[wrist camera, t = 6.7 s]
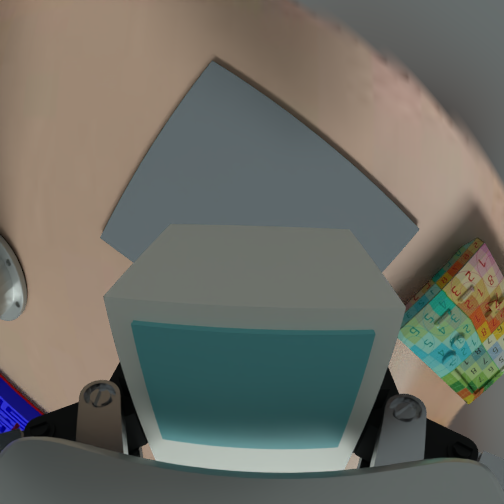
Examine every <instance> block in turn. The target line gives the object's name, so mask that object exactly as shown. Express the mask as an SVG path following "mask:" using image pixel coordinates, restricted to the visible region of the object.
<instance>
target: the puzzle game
mask: <svg viewBox="0 0 504 504" xmlns="http://www.w3.org/2000/svg"><path fill="white" fill-rule="evenodd" d="M405 307H406V309H405V313H404V317H403V320H402V324H401V327H400V330H399V334H398V337H397V338H398V339H400V340H401V341H402V342H403V343H404V344H405V345H406V346H407V347H408V348H409V349H410V350H411V351H413V352H414V353H415V354H416V355H417V356H418V357H419V358H420V359H421V360H422V361H423V362H424V363H425V364H427V365H428V366H429V367H430V368H431V369H432V370H433V371H434V372H435V373H436V374H437V375H438V376H439V377H440V378H441V379H442V380H443V381H445V382H446V383H447V384H448V385H449V386H450V387H451V388H452V389H453V390H454V391H455V392H456V393H457V394H458V395H459V396H460V397H461V398H462V399H463V400H464V401H465V402H466V403H467V404H470V403H471V402H472V401H474V400H475V399H476V398H477V397H478V396H479V395H481V394H482V393H483V392H484V391H485V390H486V389H487V388H489V387H490V386H491V385H492V384H493V383H494V382H495V381H496V380H497V379H498V378H499V377H500V376H501V375H503V373H504V277H503V275H502V273H501V271H500V269H499V267H498V265H497V264H496V262H495V260H494V258H493V256H492V254H491V253H490V251H489V249H488V247H487V246H486V244H485V243H484V242H483V241H482V240H480V239H479V238H476V239H474V240H473V241H472V242H470V243H468V244H466V245H464V246H462V247H461V248H460V249H459V250H458V251H457V253H456V254H455V255H454V256H453V257H452V258H451V259H450V260H449V261H448V262H447V263H446V265H445V266H444V267H443V268H442V269H441V270H440V271H439V272H438V273H437V274H436V275H435V276H434V277H433V278H432V279H431V280H430V281H429V282H428V283H427V284H426V285H425V286H424V287H423V288H422V289H421V290H420V291H419V292H418V293H417V294H416V295H415V296H414V297H413V298H412V299H411V300H410V301H409V302H408V303H407V304H406V305H405Z"/></svg>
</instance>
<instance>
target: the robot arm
mask: <svg viewBox="0 0 504 504" xmlns="http://www.w3.org/2000/svg"><path fill="white" fill-rule="evenodd" d="M26 302H27V289H26V283H25V278H24V275H23V272H22V269H21V267H20V264H19V262H18V260H17V258H16V256H15V254H14V252H13V250H12V249H11V248H10V246H9V245H8V243H7V242H6V241H5V240H4V239H3V237H2V236H1V235H0V319H2V320H6V321H12V320H14V319H17V318H18V317H19V316H20V315H21V314H22V313H23V311H24V309H25V306H26ZM147 443H148V441H147V438H146V436H145V433H144V430H143V428H142V425H141V423H140V420H139V417H138V415H137V412H136V409H135V406H134V403H133V401H132V398H131V395H130V392H129V389H128V386H127V383H126V380H125V376H124V373H123V370H122V367H121V363H119V364H118V366H117V368H116V370H115V372H114V373H113V375H112V377H111V379H110V381H107V380H98V381H93V382H91V383H89V384H87V385H86V386H85V387H84V388H83V389H82V390H81V392H80V396H79V402H78V403H75V404H72V405H69V406H67V407H64V408H61V409H58V410H56V411H53V412H50V413H47V414H44V415H41V416H38V417H36V418H34V419H32V420H31V421H29V422H28V423H27V425H26V426H25V429H24V430H23V431H21V429H20V428H18V429H14V430H11V431H8V432H4V433H1V434H0V504H504V459H502V458H500V457H497V456H495V455H493V454H490V453H488V452H486V451H483V452H482V453H479V452H478V449H477V446H476V445H475V443H474V442H473V441H472V440H470V439H469V438H467V437H465V436H463V435H461V434H458V433H456V432H454V431H452V430H450V429H448V428H446V427H444V426H442V425H440V424H438V423H435V422H433V421H431V420H429V419H427V418H426V407H425V405H424V403H423V402H422V401H421V400H420V399H419V398H417V397H415V396H413V395H409V394H399V393H398V390H397V388H396V385H395V383H394V380H393V378H392V375H391V373H390V371H389V368H387V370H386V373H385V376H384V379H383V382H382V384H381V387H380V390H379V392H378V395H377V397H376V400H375V402H374V405H373V407H372V410H371V412H370V415H369V417H368V419H367V422H366V424H365V426H364V429H363V431H362V433H361V435H360V438H359V440H358V442H357V444H356V446H355V448H354V450H353V452H352V453H355V455H357V456H359V457H360V459H359V463H358V467H357V469H349V470H338V471H323V472H296V473H272V472H245V471H230V470H219V469H209V468H200V467H192V466H185V465H178V464H172V463H166V462H161V461H155V460H150V459H145V458H143V454H142V447H141V446H143V445H146V444H147Z"/></svg>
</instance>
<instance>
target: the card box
mask: <svg viewBox="0 0 504 504" xmlns="http://www.w3.org/2000/svg"><path fill="white" fill-rule="evenodd" d="M103 297H104V301H105V306H106V310H107V315H108V319H109V323H110V327H111V331H112V335H113V338H114V342H115V346H116V349H117V353H118V356H119V360H120V363H121V367H122V370H123V373H124V376H125V380H126V383H127V386H128V389H129V392H130V395H131V398H132V401H133V403H134V406H135V409H136V412H137V415H138V417H139V420H140V423H141V425H142V428H143V430H144V433H145V436H146V438H147V441H148V443H149V445H150V448H151V450H152V453H153V455H154V457H155V460H156V461H161V462H166V463H172V464H178V465H185V466H192V467H200V468H209V469H219V470H230V471H245V472H272V473H296V472H323V471H338V470H344V469H345V467H346V465H347V463H348V461H349V459H350V457H351V455H352V452H353V450H354V448H355V446H356V444H357V442H358V440H359V438H360V435H361V433H362V431H363V429H364V426H365V424H366V422H367V419H368V417H369V415H370V412H371V410H372V407H373V405H374V402H375V400H376V397H377V395H378V392H379V390H380V387H381V384H382V382H383V379H384V376H385V373H386V370H387V368H388V365H389V362H390V359H391V356H392V353H393V350H394V347H395V344H396V340H397V337H398V334H399V330H400V327H401V324H402V320H403V317H404V313H405V309H406V307H405V305H404V304H403V302H402V301H401V299H400V298H399V297H398V295H397V294H396V292H395V291H394V289H393V288H392V286H391V285H390V284H389V282H388V281H387V279H386V278H385V277H384V275H383V274H382V272H381V271H380V270H379V268H378V267H377V265H376V264H375V263H374V261H373V260H372V259H371V257H370V256H369V255H368V253H367V252H366V251H365V249H364V248H363V247H362V245H361V244H360V243H359V241H358V240H357V239H356V237H355V236H354V235H353V233H352V232H351V231H350V230H349V229H329V228H305V227H277V226H244V225H199V224H170V225H169V226H168V227H167V228H166V229H165V230H164V231H163V232H162V233H161V234H160V236H159V237H158V238H157V239H156V240H155V241H154V242H153V243H152V244H151V245H150V246H149V247H148V248H147V249H146V250H145V251H144V252H143V253H142V254H141V255H140V257H139V258H138V259H137V260H136V261H135V262H134V263H133V264H132V265H131V266H130V267H129V268H128V270H127V271H126V272H125V273H124V274H123V275H122V276H121V277H120V278H119V279H118V281H117V282H116V283H115V284H114V285H113V286H112V287H111V288H110V290H109V291H108V292H107V293H106V294H105V295H104V296H103Z"/></svg>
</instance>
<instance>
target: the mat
mask: <svg viewBox="0 0 504 504" xmlns="http://www.w3.org/2000/svg"><path fill="white" fill-rule="evenodd" d="M170 224H199V225H244V226H277V227H305V228H329V229H349V230H350V231H351V232H352V233H353V235H354V236H355V237H356V239H357V240H358V241H359V243H360V244H361V245H362V247H363V248H364V249H365V251H366V252H367V253H368V255H369V256H370V257H371V259H372V260H373V261H374V263H375V264H376V265H377V267H378V268H379V270H380V271H381V272H383V271H384V270H385V269H386V267H387V266H388V265H389V264H390V263H391V262H392V261H393V260H394V259H395V257H396V256H397V255H398V254H399V253H400V252H401V251H402V249H403V248H404V247H405V246H406V245H407V244H408V242H409V241H410V240H411V239H412V238H413V237H414V235H415V234H416V233H417V232H418V231H419V228H418V227H417V226H416V225H415V224H414V223H413V222H412V221H411V220H410V219H409V218H408V217H407V216H406V215H405V214H404V213H403V212H402V211H401V210H400V209H399V208H398V207H397V206H396V205H395V204H394V203H393V202H392V201H391V200H390V199H389V198H388V197H387V196H386V195H385V194H384V193H383V192H382V191H381V190H380V189H379V188H378V187H377V186H376V185H375V184H373V183H372V182H371V181H370V180H369V179H368V178H367V177H366V176H365V175H364V174H363V173H361V172H360V171H359V170H358V169H357V168H356V167H355V166H354V165H352V164H351V163H350V162H349V161H348V160H347V159H346V158H344V157H343V156H342V155H341V154H340V153H339V152H337V151H336V150H335V149H334V148H333V147H331V146H330V145H329V144H328V143H327V142H325V141H324V140H323V139H322V138H320V137H319V136H318V135H317V134H316V133H314V132H313V131H312V130H310V129H309V128H308V127H307V126H305V125H304V124H303V123H302V122H300V121H299V120H298V119H296V118H295V117H294V116H292V115H291V114H290V113H288V112H287V111H286V110H284V109H283V108H282V107H280V106H279V105H278V104H276V103H275V102H273V101H272V100H271V99H269V98H268V97H266V96H265V95H264V94H262V93H261V92H259V91H258V90H256V89H255V88H254V87H252V86H251V85H249V84H248V83H246V82H245V81H243V80H242V79H240V78H239V77H237V76H236V75H234V74H233V73H231V72H229V71H228V70H226V69H225V68H223V67H222V66H220V65H218V64H217V63H215V62H214V61H212V62H211V63H210V64H209V65H208V67H207V68H206V69H205V70H204V72H203V73H202V74H201V76H200V77H199V78H198V80H197V81H196V82H195V84H194V85H193V86H192V88H191V89H190V90H189V92H188V93H187V95H186V96H185V97H184V99H183V100H182V101H181V103H180V104H179V106H178V107H177V109H176V110H175V111H174V113H173V114H172V116H171V117H170V119H169V120H168V122H167V123H166V125H165V126H164V128H163V129H162V131H161V132H160V134H159V135H158V137H157V138H156V140H155V142H154V143H153V145H152V146H151V148H150V149H149V151H148V153H147V154H146V156H145V157H144V159H143V161H142V162H141V164H140V166H139V167H138V169H137V171H136V172H135V174H134V176H133V178H132V179H131V181H130V183H129V185H128V186H127V188H126V190H125V192H124V193H123V195H122V197H121V199H120V201H119V203H118V204H117V206H116V208H115V210H114V212H113V214H112V216H111V218H110V219H109V221H108V223H107V225H106V227H105V229H104V231H103V233H102V235H101V237H100V238H101V239H102V240H104V241H105V242H106V243H108V244H109V245H110V246H112V247H113V248H114V249H116V250H117V251H118V252H120V253H121V254H123V255H124V256H125V257H127V258H128V259H129V260H131V261H132V262H135V261H136V260H137V259H138V258H139V257H140V255H141V254H142V253H143V252H144V251H145V250H146V249H147V248H148V247H149V246H150V245H151V244H152V243H153V242H154V241H155V240H156V239H157V238H158V237H159V236H160V234H161V233H162V232H163V231H164V230H165V229H166V228H167V227H168V226H169V225H170Z"/></svg>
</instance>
